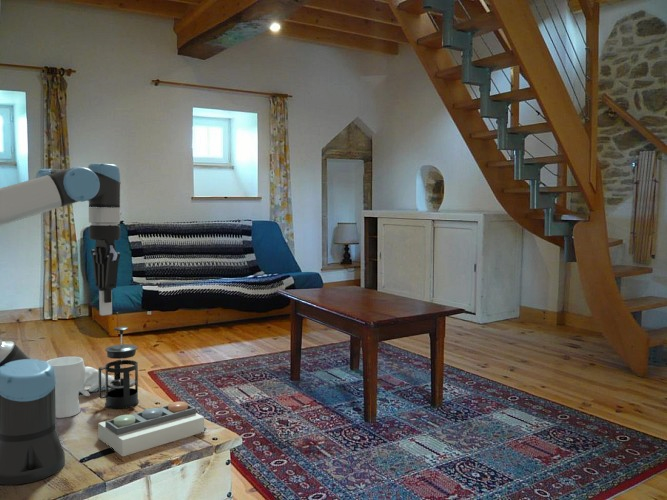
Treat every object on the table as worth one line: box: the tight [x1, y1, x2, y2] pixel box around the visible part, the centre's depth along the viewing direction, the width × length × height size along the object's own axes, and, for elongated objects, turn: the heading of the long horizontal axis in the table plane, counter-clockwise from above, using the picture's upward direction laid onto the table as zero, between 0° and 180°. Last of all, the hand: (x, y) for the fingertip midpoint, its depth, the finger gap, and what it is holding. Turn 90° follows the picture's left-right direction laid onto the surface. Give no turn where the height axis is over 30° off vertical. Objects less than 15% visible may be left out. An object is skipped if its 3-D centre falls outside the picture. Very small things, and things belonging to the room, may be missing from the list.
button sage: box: [113, 414, 135, 428], centre depth 140 cm, size 5×5×2 cm
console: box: [97, 401, 205, 457], centre depth 145 cm, size 22×14×6 cm, turn 135°
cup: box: [46, 356, 86, 419], centre depth 158 cm, size 11×11×15 cm
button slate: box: [141, 407, 162, 420], centre depth 145 cm, size 5×5×2 cm
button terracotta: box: [168, 401, 189, 413], centre depth 150 cm, size 5×5×2 cm
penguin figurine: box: [79, 366, 114, 397], centre depth 177 cm, size 6×8×12 cm
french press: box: [98, 326, 140, 410], centre depth 166 cm, size 12×9×23 cm
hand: (105, 314), depth 147 cm, fingers closed
